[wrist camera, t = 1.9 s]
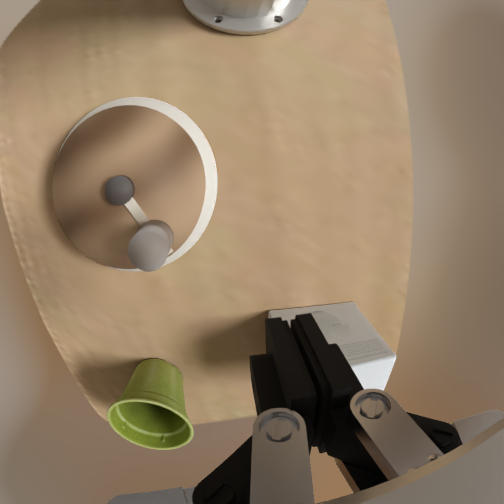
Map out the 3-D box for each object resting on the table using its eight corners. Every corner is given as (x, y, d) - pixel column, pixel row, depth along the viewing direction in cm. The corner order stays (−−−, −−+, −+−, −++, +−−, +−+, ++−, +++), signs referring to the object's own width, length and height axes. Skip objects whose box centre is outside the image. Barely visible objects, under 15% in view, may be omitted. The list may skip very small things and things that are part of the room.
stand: (98, 80, 21) (90, 75, 19) (247, 140, 26) (250, 140, 23) (46, 226, 25) (36, 233, 23) (177, 287, 30) (174, 297, 27)
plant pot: (138, 400, 35) (128, 449, 27) (112, 350, 31) (92, 400, 23) (202, 396, 35) (202, 448, 27) (183, 342, 32) (178, 397, 24)
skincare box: (266, 354, 34) (284, 421, 24) (267, 309, 32) (289, 374, 22) (346, 343, 35) (381, 400, 25) (354, 300, 33) (399, 354, 23)
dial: (36, 176, 22) (5, 185, 17) (147, 76, 20) (131, 59, 15) (119, 289, 26) (102, 317, 22) (237, 204, 25) (243, 219, 20)
